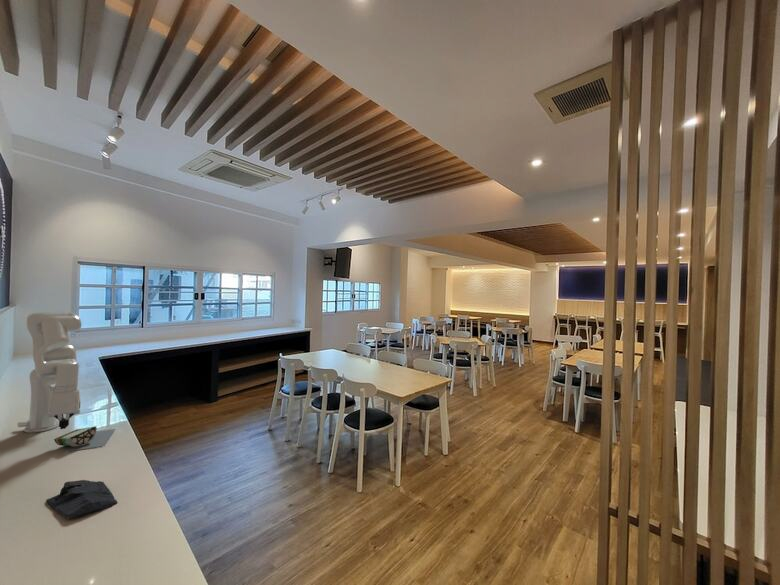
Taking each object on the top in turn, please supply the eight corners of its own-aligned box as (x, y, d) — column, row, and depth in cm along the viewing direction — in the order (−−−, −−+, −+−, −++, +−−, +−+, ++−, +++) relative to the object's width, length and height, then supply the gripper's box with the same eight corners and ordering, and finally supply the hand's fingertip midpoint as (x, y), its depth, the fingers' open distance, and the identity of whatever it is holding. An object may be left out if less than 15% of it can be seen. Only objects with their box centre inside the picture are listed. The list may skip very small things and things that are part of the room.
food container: (52, 454, 145) (72, 451, 144) (50, 440, 145) (69, 438, 144) (81, 440, 158) (99, 438, 156) (79, 428, 157) (97, 425, 156)
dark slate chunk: (57, 529, 98) (58, 513, 98) (44, 501, 111) (45, 486, 111) (120, 504, 111) (121, 490, 111) (102, 482, 124) (103, 469, 124)
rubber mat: (67, 452, 144) (67, 451, 144) (83, 433, 163) (83, 432, 164) (104, 446, 151) (104, 445, 151) (115, 429, 170) (115, 428, 170)
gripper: (40, 392, 145) (37, 433, 145) (85, 389, 153) (82, 428, 153) (47, 388, 152) (44, 427, 151) (89, 385, 159) (87, 422, 159)
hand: (63, 427), depth 152 cm, fingers closed
